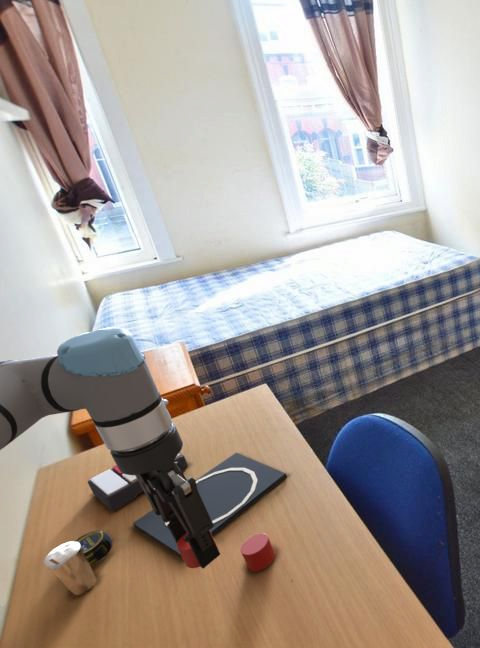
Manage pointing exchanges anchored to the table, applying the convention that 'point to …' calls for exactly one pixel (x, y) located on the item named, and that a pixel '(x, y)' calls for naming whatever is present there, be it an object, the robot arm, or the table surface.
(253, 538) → the red short cylinder
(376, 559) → the table surface
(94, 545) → the tape measure
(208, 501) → the face mat
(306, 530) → the table surface
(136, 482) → the calculator
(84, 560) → the milkshake
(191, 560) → the red cylinder block
